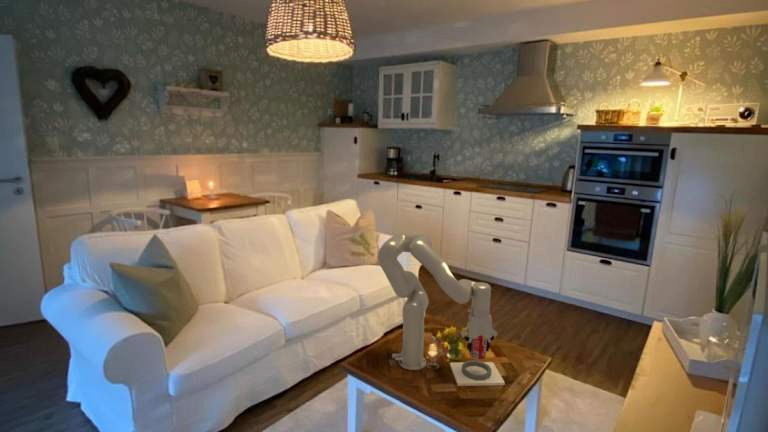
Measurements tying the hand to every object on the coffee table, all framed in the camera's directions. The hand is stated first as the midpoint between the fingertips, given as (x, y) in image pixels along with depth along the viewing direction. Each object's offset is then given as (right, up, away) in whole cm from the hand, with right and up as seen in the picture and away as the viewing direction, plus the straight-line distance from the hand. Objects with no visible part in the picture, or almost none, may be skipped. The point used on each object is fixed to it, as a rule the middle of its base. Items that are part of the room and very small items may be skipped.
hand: (478, 349), depth 176 cm
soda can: (0, -3, +1) cm, 4 cm away
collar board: (0, -12, +2) cm, 12 cm away
